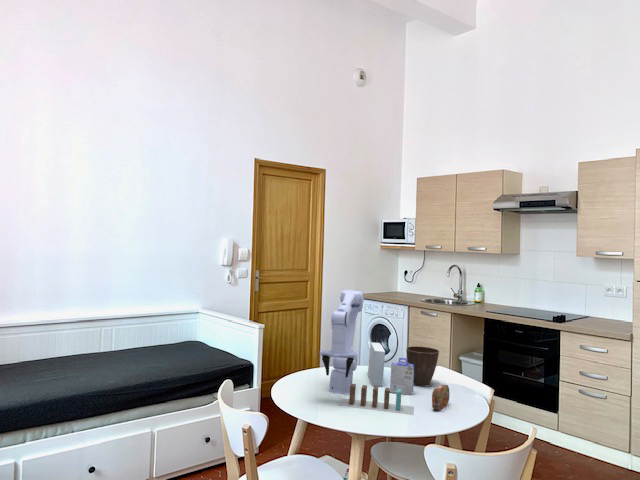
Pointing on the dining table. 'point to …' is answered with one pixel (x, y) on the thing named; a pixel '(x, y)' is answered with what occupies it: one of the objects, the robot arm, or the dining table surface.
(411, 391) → the ink cartridge box
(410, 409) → the mat
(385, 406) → the walnut tile
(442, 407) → the tin
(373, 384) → the skincare box
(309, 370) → the dining table surface
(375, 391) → the walnut tile
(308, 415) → the dining table surface
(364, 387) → the walnut tile
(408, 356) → the plant pot
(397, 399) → the teal end tile
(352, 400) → the walnut tile
